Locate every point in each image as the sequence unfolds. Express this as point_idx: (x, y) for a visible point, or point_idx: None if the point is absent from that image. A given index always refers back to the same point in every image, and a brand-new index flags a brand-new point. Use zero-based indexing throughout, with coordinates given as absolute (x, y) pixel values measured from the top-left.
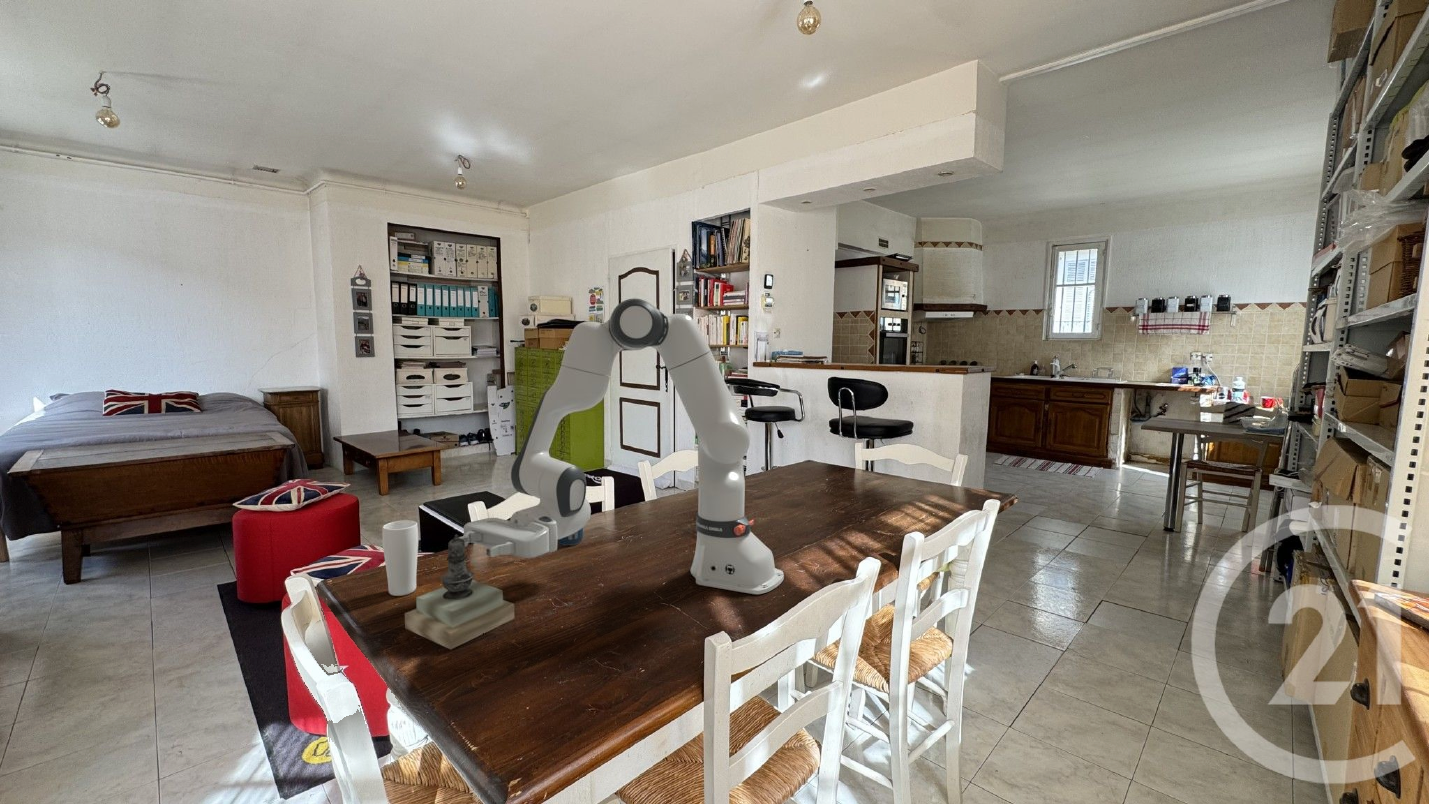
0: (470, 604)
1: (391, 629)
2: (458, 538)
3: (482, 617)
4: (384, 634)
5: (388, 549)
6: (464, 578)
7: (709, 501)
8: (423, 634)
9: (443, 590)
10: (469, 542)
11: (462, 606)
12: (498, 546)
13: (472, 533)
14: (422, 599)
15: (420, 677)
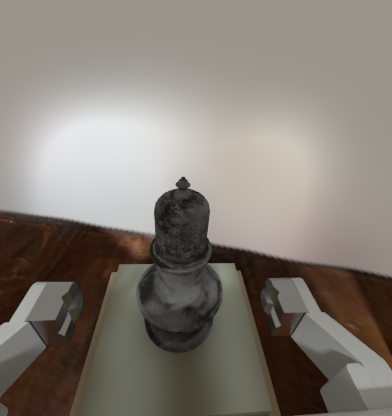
0: (109, 302)
1: (247, 275)
2: (174, 194)
3: (95, 341)
4: (238, 265)
5: None
6: (145, 284)
7: None
8: None
9: (227, 308)
10: (328, 378)
11: (118, 286)
12: (11, 319)
13: (345, 372)
14: (215, 263)
15: (102, 241)
